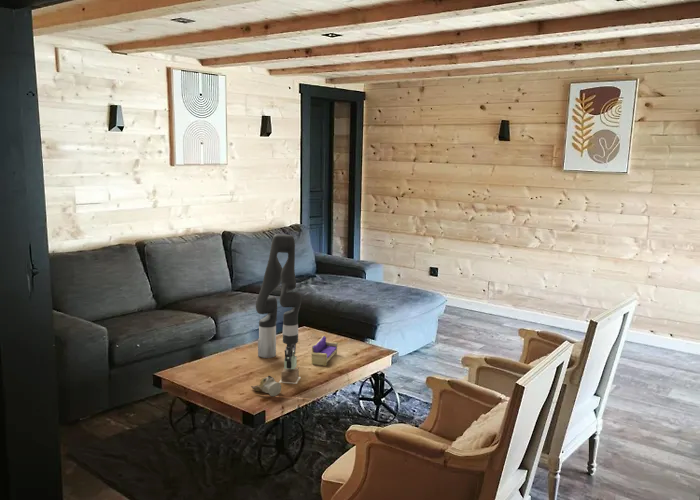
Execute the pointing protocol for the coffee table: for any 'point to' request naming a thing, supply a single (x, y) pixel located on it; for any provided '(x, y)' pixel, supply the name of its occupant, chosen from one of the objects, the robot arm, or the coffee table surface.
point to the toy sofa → (323, 351)
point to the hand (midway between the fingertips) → (290, 366)
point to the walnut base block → (290, 375)
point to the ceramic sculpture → (268, 386)
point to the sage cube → (293, 362)
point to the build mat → (291, 382)
